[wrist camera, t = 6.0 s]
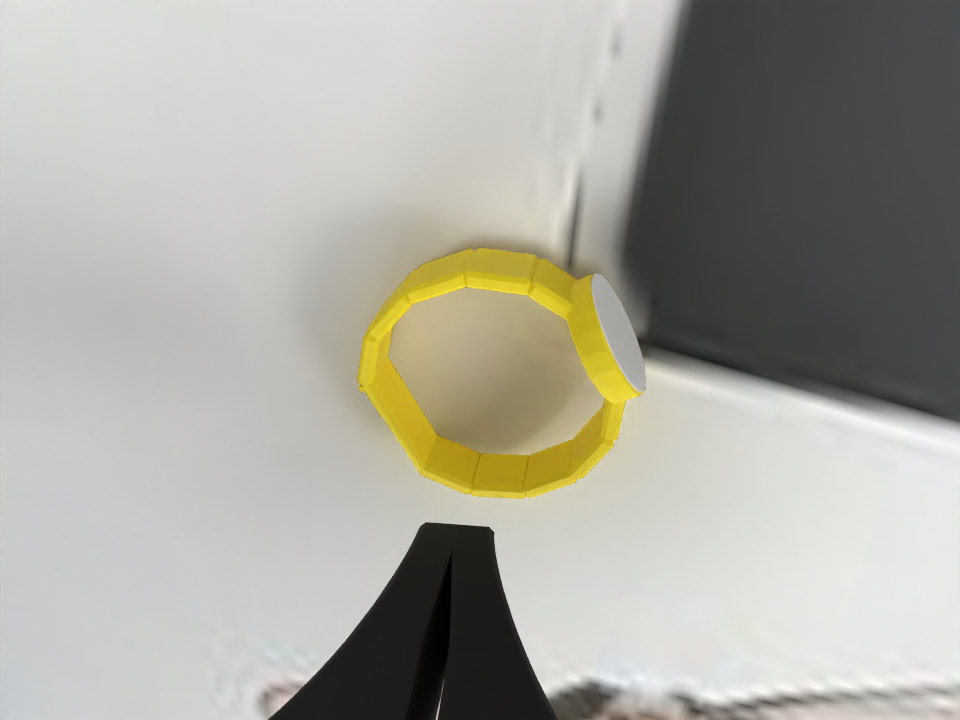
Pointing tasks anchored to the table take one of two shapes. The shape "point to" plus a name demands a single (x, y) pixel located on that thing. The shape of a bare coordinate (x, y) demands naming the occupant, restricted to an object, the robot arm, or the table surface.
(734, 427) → the table surface
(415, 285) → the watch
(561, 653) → the table surface
